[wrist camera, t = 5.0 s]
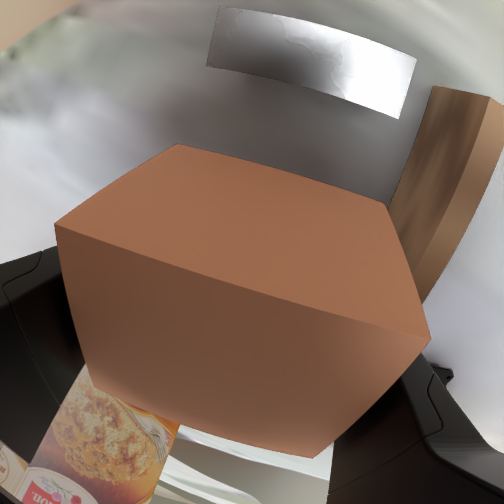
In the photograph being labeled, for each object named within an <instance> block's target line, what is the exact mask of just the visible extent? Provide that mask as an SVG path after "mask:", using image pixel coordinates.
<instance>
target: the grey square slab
mask: <svg viewBox="0 0 504 504" xmlns="http://www.w3.org/2000/svg"><path fill="white" fill-rule="evenodd" d="M416 60H417V59H415V58H413V57H411V56H409V55H406V54H404V53H402V52H399V51H397V50H394V49H392V48H389V47H387V46H384V45H382V44H379V43H376V42H374V41H371V40H368V39H365V38H362V37H359V36H356V35H353V34H350V33H347V32H344V31H341V30H337V29H334V28H331V27H327V26H323V25H320V24H316V23H312V22H308V21H304V20H300V19H295V18H291V17H286V16H281V15H276V14H270V13H265V12H259V11H253V10H246V9H238V8H230V7H221V6H219V10H218V15H217V19H216V23H215V27H214V32H213V36H212V40H211V45H210V50H209V54H208V59H207V64H206V66H207V67H214V68H220V69H226V70H232V71H237V72H242V73H247V74H252V75H257V76H262V77H266V78H271V79H275V80H279V81H283V82H287V83H291V84H295V85H299V86H302V87H306V88H309V89H313V90H316V91H320V92H323V93H326V94H330V95H333V96H336V97H339V98H342V99H345V100H348V101H351V102H354V103H357V104H360V105H363V106H365V107H368V108H371V109H374V110H376V111H379V112H381V113H384V114H387V115H389V116H392V117H394V118H397V119H399V116H400V113H401V110H402V107H403V103H404V100H405V97H406V94H407V91H408V87H409V84H410V81H411V77H412V74H413V70H414V67H415V63H416Z"/></svg>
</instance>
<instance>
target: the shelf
mask: <svg viewBox="0 0 504 504" xmlns="http://www.w3.org/2000/svg"><path fill="white" fill-rule="evenodd" d="M503 146H504V106H503V105H501V104H500V103H498V102H497V101H495V100H494V99H492V98H491V97H487V96H483V95H479V94H474V93H470V92H465V91H460V90H455V89H450V88H444V87H438V86H433V89H432V92H431V95H430V99H429V102H428V105H427V108H426V111H425V114H424V117H423V120H422V123H421V126H420V129H419V132H418V134H417V137H416V140H415V143H414V145H413V148H412V151H411V154H410V156H409V159H408V161H407V164H406V167H405V169H404V172H403V174H402V177H401V179H400V182H399V184H398V187H397V189H396V191H395V194H394V196H393V199H392V201H391V203H390V206H389V208H388V210H387V211H388V213H389V216H390V218H391V221H392V223H393V225H394V228H395V230H396V233H397V236H398V238H399V241H400V243H401V246H402V249H403V251H404V254H405V257H406V259H407V262H408V265H409V268H410V271H411V274H412V277H413V280H414V283H415V286H416V289H417V292H418V295H419V298H420V301H421V305H422V304H423V302H424V301H425V299H426V298H427V296H428V294H429V293H430V291H431V290H432V288H433V287H434V285H435V283H436V282H437V280H438V279H439V277H440V275H441V274H442V272H443V270H444V269H445V267H446V265H447V264H448V262H449V260H450V258H451V257H452V255H453V253H454V251H455V250H456V248H457V246H458V244H459V242H460V241H461V239H462V237H463V235H464V233H465V231H466V229H467V227H468V225H469V224H470V222H471V220H472V218H473V216H474V214H475V212H476V209H477V207H478V205H479V203H480V201H481V199H482V197H483V195H484V192H485V190H486V188H487V186H488V183H489V181H490V179H491V176H492V174H493V172H494V169H495V167H496V164H497V162H498V159H499V157H500V154H501V152H502V149H503Z"/></svg>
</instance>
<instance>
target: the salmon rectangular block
mask: <svg viewBox="0 0 504 504" xmlns="http://www.w3.org/2000/svg"><path fill="white" fill-rule="evenodd" d="M54 227H55V234H56V241H57V247H58V253H59V259H60V264H61V270H62V275H63V280H64V285H65V289H66V294H67V298H68V302H69V306H70V311H71V314H72V318H73V322H74V326H75V329H76V333H77V337H78V340H79V343H80V347H81V350H82V353H83V356H84V360H85V363H86V366H87V369H88V372H89V374H90V377H91V380H92V383H93V386H94V387H95V388H97V389H99V390H101V391H103V392H105V393H107V394H109V395H111V396H113V397H115V398H118V399H120V400H122V401H124V402H126V403H129V404H131V405H133V406H136V407H138V408H140V409H143V410H145V411H147V412H150V413H152V414H155V415H157V416H160V417H163V418H165V419H168V420H170V421H173V422H176V423H179V424H181V425H184V426H187V427H190V428H193V429H196V430H199V431H202V432H205V433H208V434H212V435H215V436H218V437H221V438H225V439H228V440H232V441H235V442H239V443H243V444H247V445H251V446H255V447H259V448H263V449H267V450H272V451H276V452H281V453H286V454H291V455H296V456H301V457H307V458H314V457H315V456H317V455H318V454H319V453H320V452H322V451H323V450H324V449H325V448H326V447H328V446H329V445H330V444H331V443H332V442H333V441H335V440H336V439H337V438H338V437H339V436H340V435H341V434H343V433H344V432H345V431H346V430H347V429H348V428H349V427H350V426H351V425H352V424H354V423H355V422H356V421H357V420H358V419H359V418H360V417H361V416H362V415H363V414H364V413H365V412H366V411H367V410H368V409H369V408H370V407H371V406H372V405H373V404H374V403H375V402H376V401H377V400H378V399H379V398H380V397H381V396H382V395H383V394H384V393H385V392H386V391H387V390H388V389H389V388H390V387H391V386H392V385H393V384H394V382H395V381H396V380H397V379H398V378H399V377H400V376H401V375H402V374H403V373H404V371H405V370H406V369H407V368H408V367H409V366H410V365H411V363H412V362H413V361H414V360H415V359H416V358H417V356H418V355H419V354H420V353H421V352H422V350H423V349H424V348H425V347H426V345H427V344H428V343H429V342H430V340H431V336H430V332H429V329H428V325H427V321H426V318H425V315H424V311H423V308H422V305H421V301H420V298H419V295H418V292H417V289H416V286H415V283H414V280H413V277H412V274H411V271H410V268H409V265H408V262H407V259H406V257H405V254H404V251H403V249H402V246H401V243H400V241H399V238H398V236H397V233H396V230H395V228H394V225H393V223H392V221H391V218H390V216H389V213H388V211H387V209H386V206H385V204H384V203H381V202H379V201H376V200H373V199H370V198H367V197H365V196H362V195H359V194H356V193H353V192H350V191H347V190H344V189H341V188H338V187H335V186H332V185H329V184H326V183H323V182H319V181H316V180H313V179H310V178H307V177H303V176H300V175H297V174H293V173H290V172H287V171H283V170H280V169H276V168H273V167H269V166H265V165H262V164H258V163H255V162H251V161H247V160H243V159H239V158H235V157H232V156H228V155H224V154H219V153H215V152H211V151H207V150H203V149H198V148H194V147H190V146H185V145H181V144H176V145H174V146H172V147H170V148H168V149H167V150H165V151H163V152H161V153H160V154H158V155H156V156H155V157H153V158H151V159H149V160H148V161H146V162H144V163H143V164H141V165H140V166H138V167H136V168H135V169H133V170H131V171H130V172H128V173H127V174H125V175H123V176H122V177H120V178H119V179H117V180H116V181H114V182H112V183H111V184H109V185H108V186H106V187H105V188H103V189H102V190H100V191H99V192H97V193H96V194H94V195H93V196H92V197H90V198H89V199H87V200H86V201H84V202H83V203H81V204H80V205H79V206H77V207H76V208H74V209H73V210H72V211H70V212H69V213H68V214H66V215H65V216H64V217H62V218H61V219H59V220H58V221H57V222H55V223H54Z"/></svg>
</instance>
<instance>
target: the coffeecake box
mask: <svg viewBox="0 0 504 504" xmlns="http://www.w3.org/2000/svg"><path fill="white" fill-rule="evenodd" d="M179 426H180V424H179V423H176V422H173V421H170V420H168V419H165V418H163V417H160V416H157V415H155V414H152V413H150V412H147V411H145V410H143V409H140V408H138V407H136V406H133V405H131V404H129V403H126V402H124V401H122V400H120V399H118V398H115V397H113V396H111V395H109V394H107V393H105V392H103V391H101V390H99V389H97V388H95V387H94V386H93V383H92V380H91V377H90V374H89V372H88V369H87V366H86V363H85V365H84V367H83V368H82V370H81V372H80V373H79V375H78V377H77V378H76V380H75V382H74V384H73V385H72V387H71V389H70V390H69V392H68V394H67V396H66V397H65V399H64V401H63V403H62V404H61V405H60V408H59V410H58V412H57V414H56V416H55V418H54V419H53V421H52V423H51V425H50V427H49V429H48V430H47V432H46V434H45V436H44V438H43V440H42V442H41V444H40V446H39V448H38V450H37V452H36V454H35V456H34V458H33V460H32V461H31V463H30V464H28V463H27V462H25V461H24V460H23V459H21V458H20V457H19V456H17V455H16V454H15V453H13V452H12V451H11V450H10V449H8V448H7V447H6V446H4V445H3V447H2V448H1V450H0V485H1V486H2V487H3V488H4V489H6V490H7V491H8V492H9V493H11V494H12V495H13V496H15V497H16V498H17V499H19V500H20V501H21V502H23V503H24V504H149V503H150V500H151V498H152V495H153V493H154V490H155V488H156V485H157V482H158V480H159V477H160V475H161V472H162V470H163V467H164V464H165V462H166V459H167V457H168V454H169V451H170V449H171V447H172V444H173V441H174V439H175V436H176V434H177V431H178V429H179Z"/></svg>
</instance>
